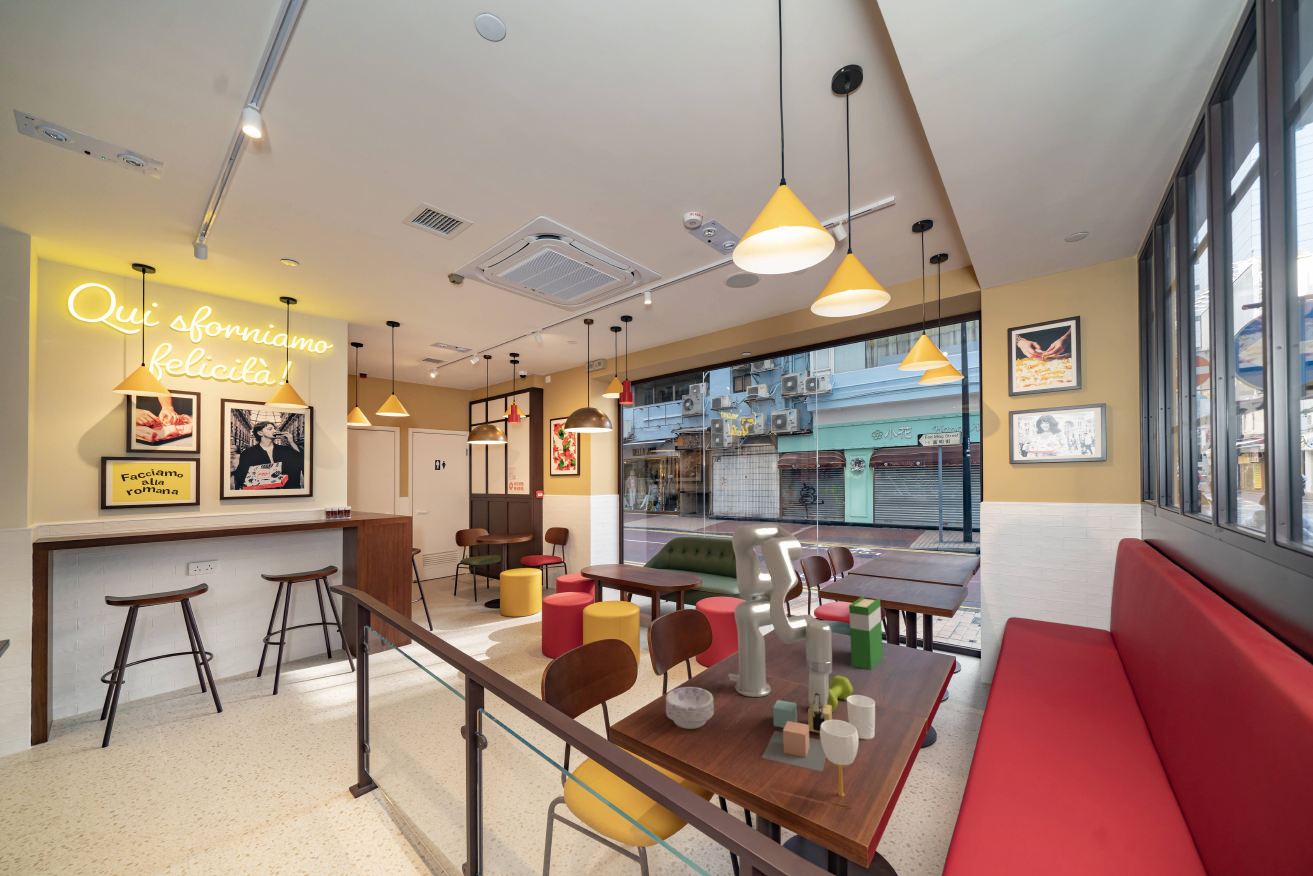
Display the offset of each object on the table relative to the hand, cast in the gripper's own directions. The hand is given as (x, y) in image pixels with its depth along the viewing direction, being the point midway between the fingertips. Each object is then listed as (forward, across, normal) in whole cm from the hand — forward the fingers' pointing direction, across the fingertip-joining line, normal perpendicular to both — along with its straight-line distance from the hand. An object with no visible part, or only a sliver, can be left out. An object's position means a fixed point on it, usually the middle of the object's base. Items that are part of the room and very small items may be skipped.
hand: (820, 724), depth 153 cm
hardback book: (+3, -67, +10) cm, 67 cm away
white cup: (+2, -3, +12) cm, 12 cm away
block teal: (+2, 0, -10) cm, 11 cm away
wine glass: (+2, +30, +9) cm, 31 cm away
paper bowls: (+3, +10, -38) cm, 40 cm away
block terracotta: (+1, +14, -4) cm, 15 cm away
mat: (+2, +14, -4) cm, 15 cm away
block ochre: (+1, 0, 0) cm, 1 cm away
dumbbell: (+3, -21, +2) cm, 21 cm away
